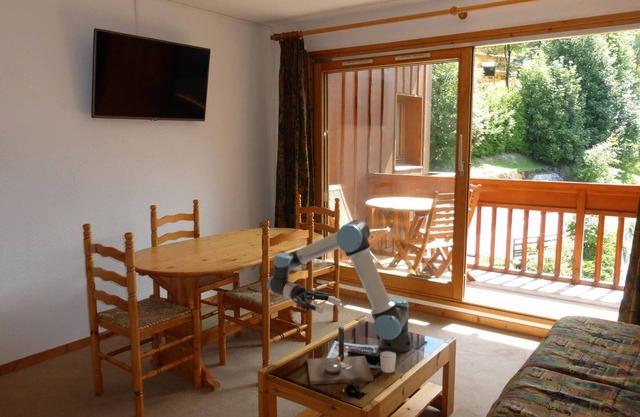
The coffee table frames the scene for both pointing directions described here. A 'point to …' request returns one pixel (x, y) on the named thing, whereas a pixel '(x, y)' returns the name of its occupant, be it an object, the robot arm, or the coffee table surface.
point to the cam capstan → (335, 365)
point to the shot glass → (387, 361)
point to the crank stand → (350, 370)
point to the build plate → (353, 390)
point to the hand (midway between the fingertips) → (331, 306)
